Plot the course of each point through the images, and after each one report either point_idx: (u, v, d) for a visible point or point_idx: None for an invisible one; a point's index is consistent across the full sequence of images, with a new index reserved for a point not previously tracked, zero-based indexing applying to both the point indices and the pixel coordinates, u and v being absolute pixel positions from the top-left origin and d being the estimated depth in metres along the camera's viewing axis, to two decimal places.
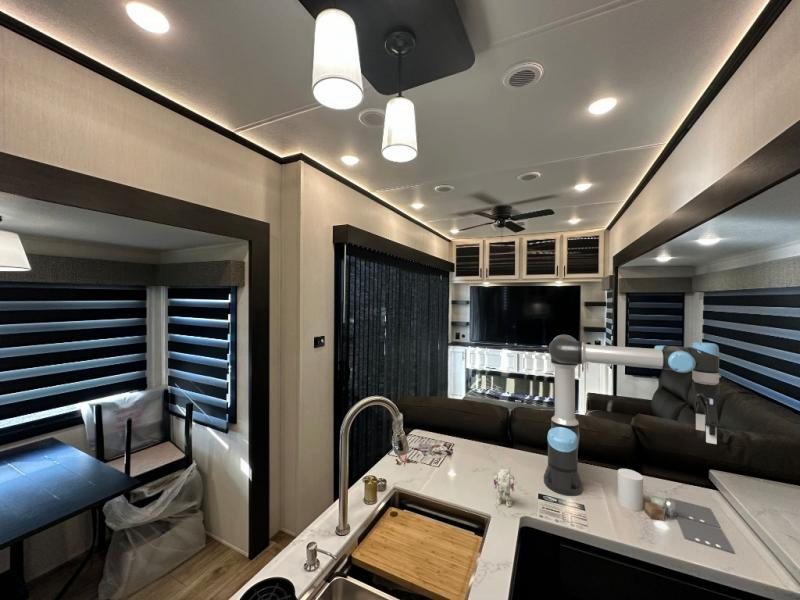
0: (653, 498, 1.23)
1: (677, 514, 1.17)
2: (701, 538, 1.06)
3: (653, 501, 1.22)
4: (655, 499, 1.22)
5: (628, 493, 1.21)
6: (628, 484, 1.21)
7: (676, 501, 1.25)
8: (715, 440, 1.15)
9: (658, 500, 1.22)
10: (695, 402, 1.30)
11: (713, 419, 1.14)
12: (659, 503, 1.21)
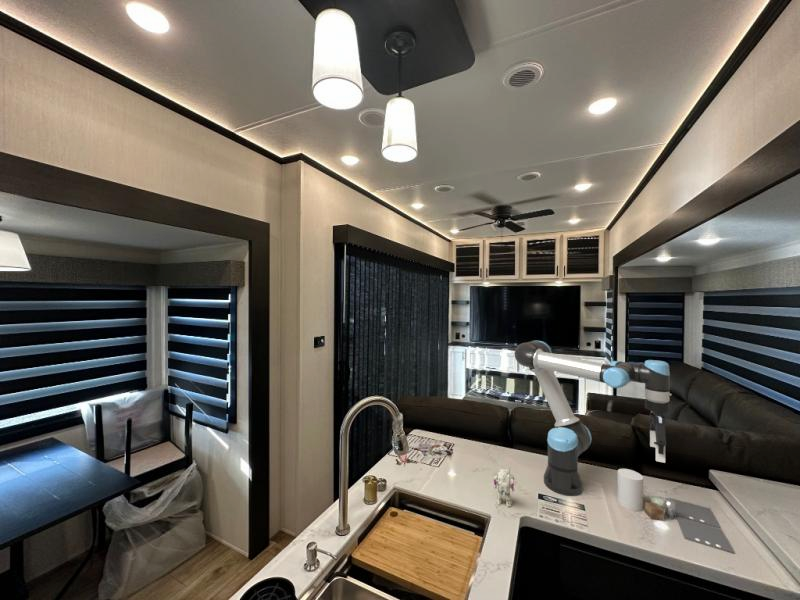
0: (653, 498, 1.23)
1: (677, 514, 1.17)
2: (701, 538, 1.06)
3: (653, 501, 1.22)
4: (655, 499, 1.22)
5: (628, 493, 1.21)
6: (628, 484, 1.21)
7: (676, 501, 1.25)
8: (664, 459, 1.16)
9: (657, 499, 1.22)
10: (650, 419, 1.30)
11: (661, 438, 1.15)
12: (659, 503, 1.21)
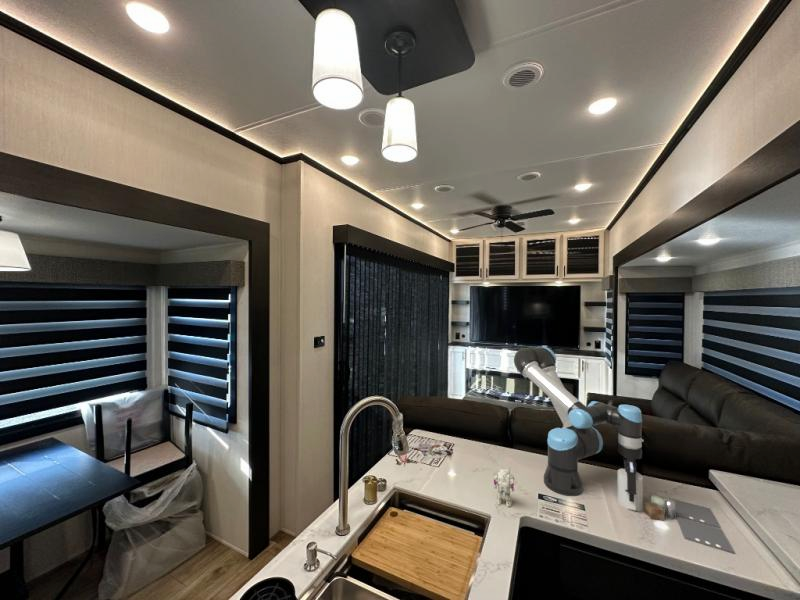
0: (654, 498, 1.23)
1: (677, 514, 1.17)
2: (701, 538, 1.06)
3: (655, 501, 1.22)
4: (656, 499, 1.22)
5: None
6: None
7: (676, 501, 1.25)
8: (634, 506, 1.19)
9: (659, 499, 1.22)
10: None
11: (632, 487, 1.18)
12: (661, 503, 1.21)
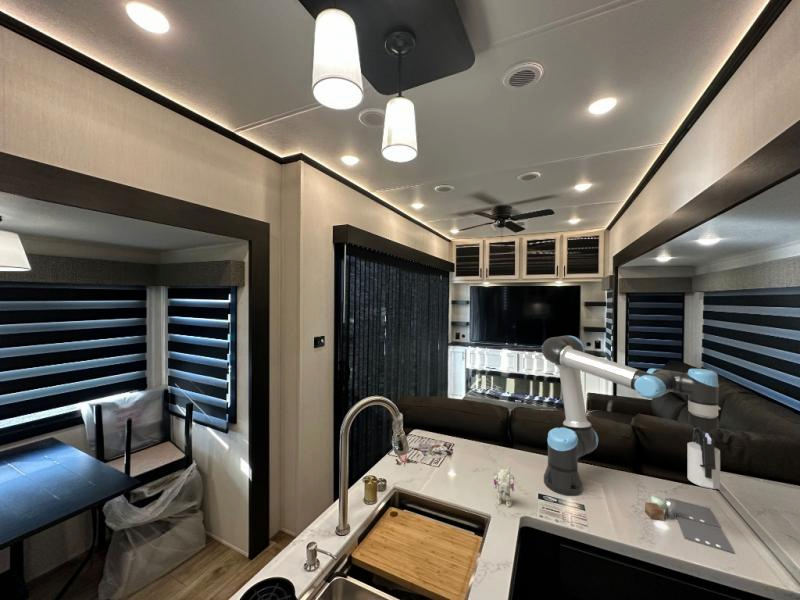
0: (655, 499, 1.22)
1: (677, 514, 1.17)
2: (701, 538, 1.06)
3: (658, 502, 1.21)
4: (658, 500, 1.22)
5: None
6: None
7: (676, 501, 1.25)
8: (711, 483, 1.03)
9: (659, 499, 1.22)
10: (693, 440, 1.14)
11: (710, 461, 1.02)
12: (663, 503, 1.21)
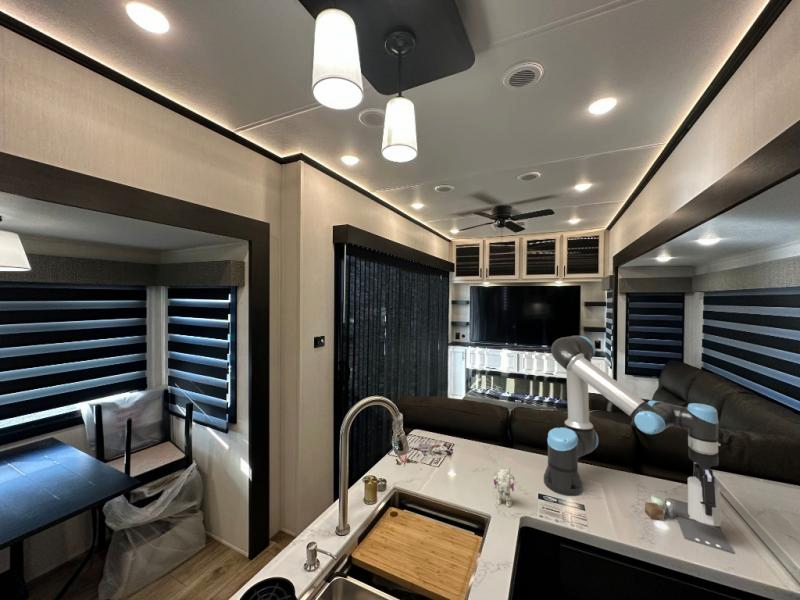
0: (656, 499, 1.22)
1: (677, 514, 1.17)
2: (701, 538, 1.06)
3: (659, 503, 1.21)
4: (658, 500, 1.22)
5: None
6: None
7: (676, 501, 1.25)
8: (712, 521, 1.03)
9: (659, 499, 1.22)
10: (693, 473, 1.14)
11: (710, 499, 1.02)
12: (663, 502, 1.21)
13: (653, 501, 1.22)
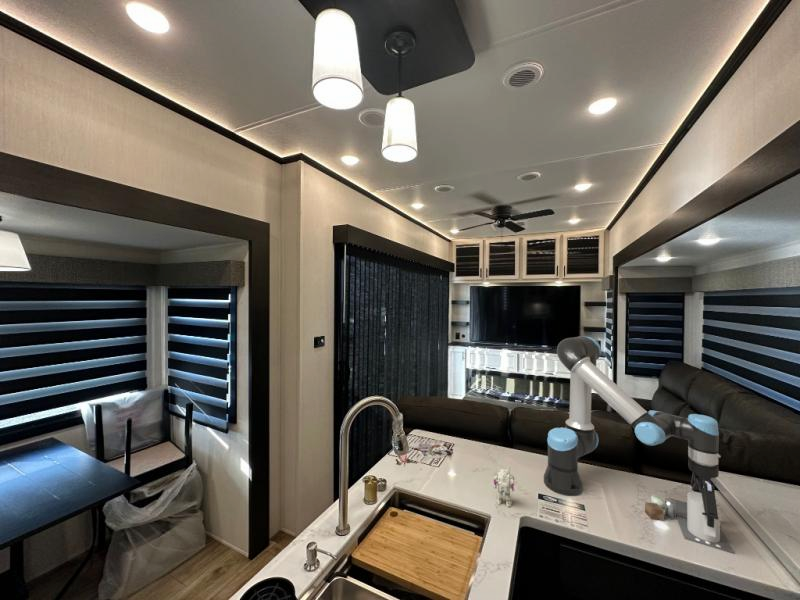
0: (657, 500, 1.21)
1: (677, 514, 1.17)
2: None
3: (661, 503, 1.20)
4: (659, 500, 1.21)
5: (703, 521, 1.05)
6: (703, 511, 1.05)
7: (676, 501, 1.25)
8: (714, 532, 1.01)
9: (659, 499, 1.22)
10: (692, 478, 1.16)
11: (711, 509, 1.00)
12: None
13: (654, 502, 1.22)
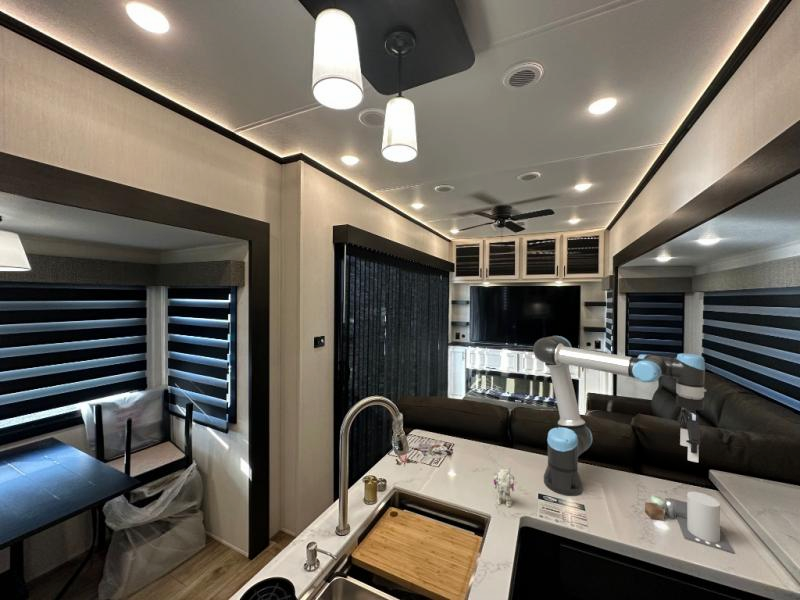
0: (659, 500, 1.21)
1: (677, 514, 1.17)
2: None
3: (662, 503, 1.21)
4: (660, 500, 1.22)
5: (703, 521, 1.05)
6: (703, 511, 1.05)
7: (676, 501, 1.25)
8: (697, 458, 1.09)
9: (659, 499, 1.22)
10: (680, 416, 1.23)
11: (695, 436, 1.07)
12: None
13: None
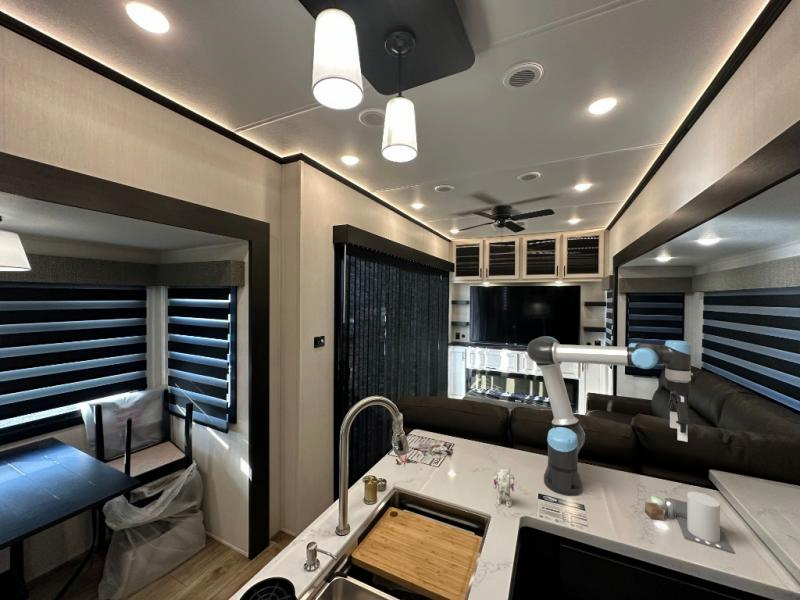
0: (659, 501, 1.21)
1: (677, 514, 1.17)
2: None
3: (663, 503, 1.21)
4: (660, 500, 1.22)
5: (703, 521, 1.05)
6: (703, 511, 1.05)
7: (676, 501, 1.25)
8: (686, 438, 1.16)
9: (659, 499, 1.22)
10: (669, 400, 1.30)
11: (684, 417, 1.14)
12: None
13: (658, 504, 1.21)
